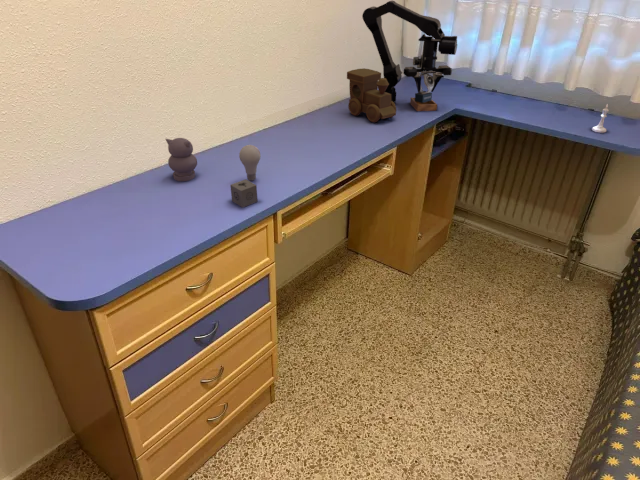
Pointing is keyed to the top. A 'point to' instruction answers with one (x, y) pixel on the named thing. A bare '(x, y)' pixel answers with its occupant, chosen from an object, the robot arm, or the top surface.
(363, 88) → the wooden toy train
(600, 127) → the chess piece
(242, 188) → the dark grey engraved cube
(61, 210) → the top surface
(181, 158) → the cat figurine
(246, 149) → the lightbulb
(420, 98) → the watch
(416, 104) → the tray
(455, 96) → the top surface
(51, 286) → the top surface
